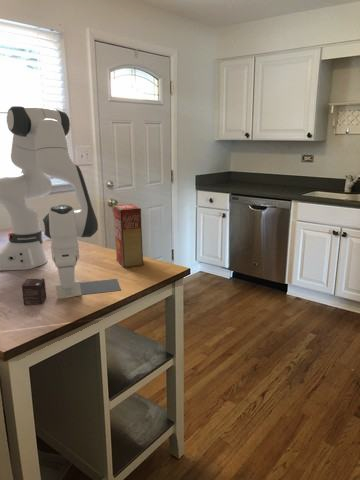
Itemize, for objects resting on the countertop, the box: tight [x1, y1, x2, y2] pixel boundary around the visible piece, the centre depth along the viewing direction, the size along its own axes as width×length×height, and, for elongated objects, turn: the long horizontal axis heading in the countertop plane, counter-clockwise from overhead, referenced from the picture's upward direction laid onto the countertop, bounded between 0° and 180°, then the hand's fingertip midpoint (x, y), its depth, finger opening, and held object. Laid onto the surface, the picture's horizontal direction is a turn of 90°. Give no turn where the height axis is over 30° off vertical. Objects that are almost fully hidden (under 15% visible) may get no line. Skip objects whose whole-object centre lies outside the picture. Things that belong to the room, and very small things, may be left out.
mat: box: [80, 278, 122, 296], centre depth 142 cm, size 16×12×1 cm
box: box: [21, 278, 47, 306], centre depth 129 cm, size 6×6×7 cm
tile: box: [54, 279, 83, 300], centre depth 133 cm, size 8×2×5 cm, turn 106°
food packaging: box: [112, 203, 144, 269], centre depth 168 cm, size 13×9×25 cm
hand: (68, 292), depth 134 cm, fingers closed on tile, 2 cm apart
